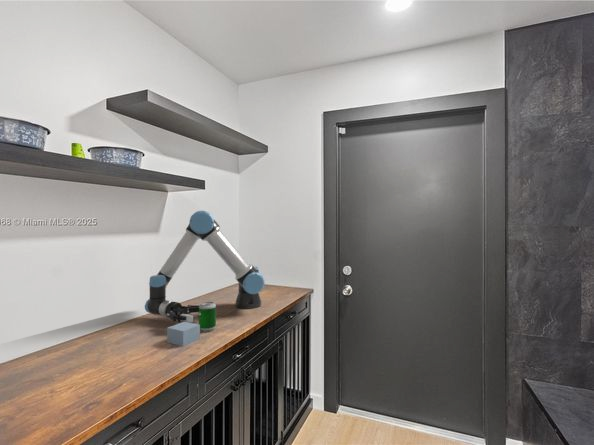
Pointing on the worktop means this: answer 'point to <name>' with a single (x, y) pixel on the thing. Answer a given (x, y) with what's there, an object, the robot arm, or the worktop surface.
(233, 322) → the worktop surface
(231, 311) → the worktop surface
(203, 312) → the soda can
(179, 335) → the base block
